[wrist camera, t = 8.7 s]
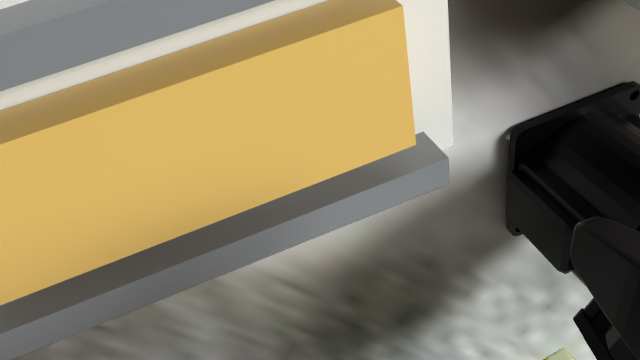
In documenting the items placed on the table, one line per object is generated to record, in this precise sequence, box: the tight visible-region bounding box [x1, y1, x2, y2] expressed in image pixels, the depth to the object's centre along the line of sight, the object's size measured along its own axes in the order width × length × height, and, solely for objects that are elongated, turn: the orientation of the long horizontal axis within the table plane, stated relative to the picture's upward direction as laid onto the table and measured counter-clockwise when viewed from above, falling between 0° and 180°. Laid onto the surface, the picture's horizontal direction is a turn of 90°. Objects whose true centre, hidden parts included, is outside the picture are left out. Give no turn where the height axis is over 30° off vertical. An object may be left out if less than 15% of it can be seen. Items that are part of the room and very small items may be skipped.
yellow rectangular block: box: [0, 0, 416, 305], centre depth 14 cm, size 12×4×2 cm, turn 101°
